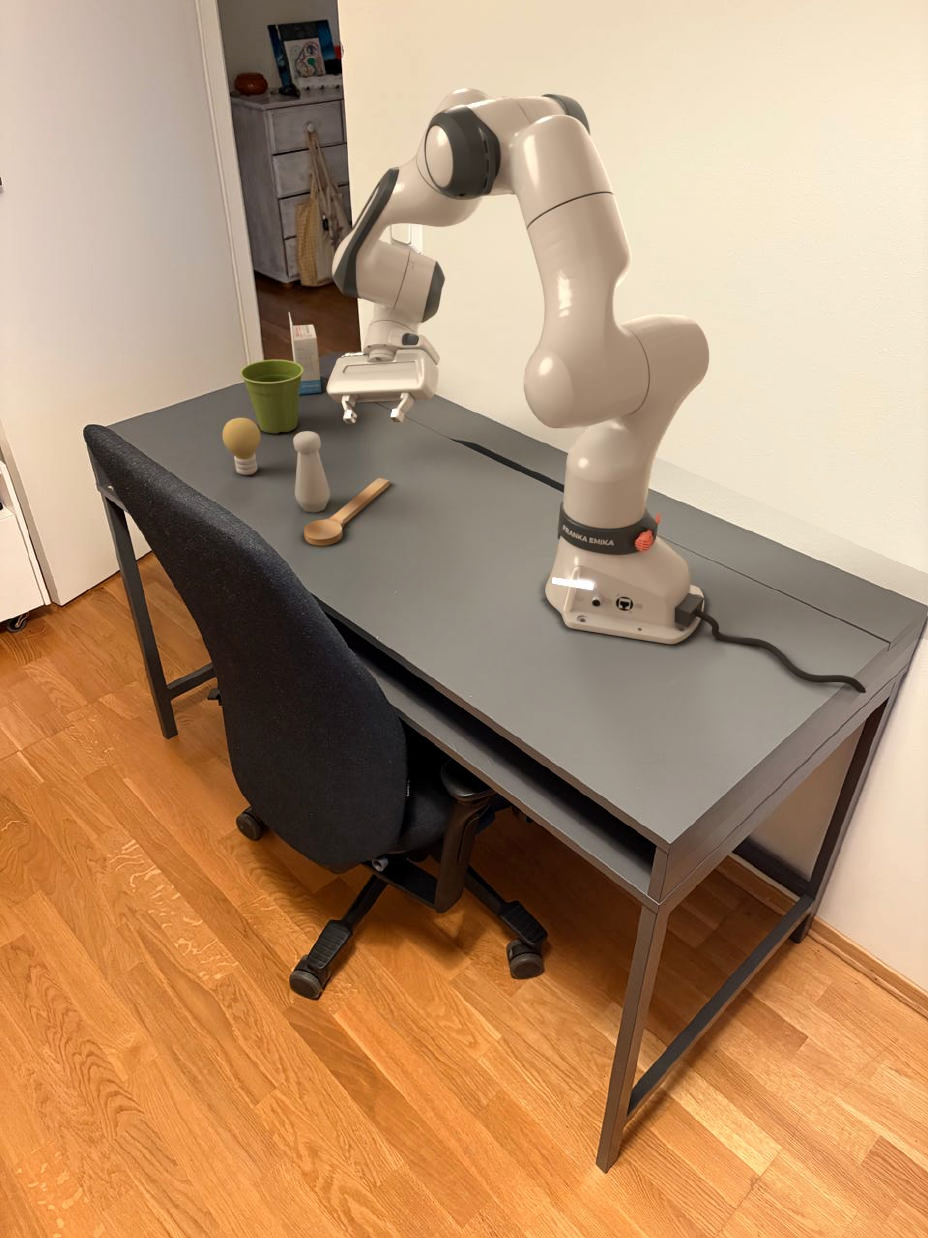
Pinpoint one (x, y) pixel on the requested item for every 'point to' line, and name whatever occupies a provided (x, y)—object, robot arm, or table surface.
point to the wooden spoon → (342, 516)
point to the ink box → (306, 357)
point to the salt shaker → (310, 473)
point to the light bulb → (242, 443)
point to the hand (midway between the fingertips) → (372, 421)
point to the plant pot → (274, 393)
